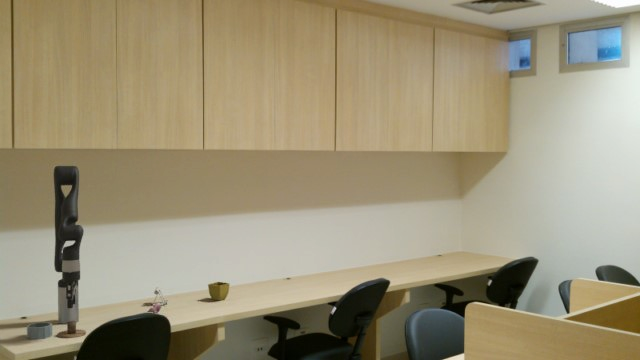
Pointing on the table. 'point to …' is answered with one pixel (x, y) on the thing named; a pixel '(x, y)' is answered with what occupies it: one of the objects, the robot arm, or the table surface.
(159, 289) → the portable electronic device stand
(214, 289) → the flower pot
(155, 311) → the video game controller
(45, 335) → the bowl
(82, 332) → the lid
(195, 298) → the table surface
